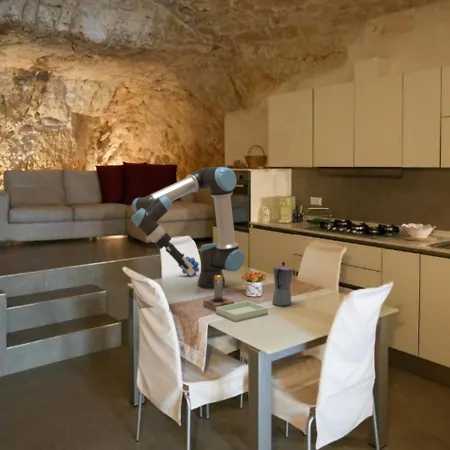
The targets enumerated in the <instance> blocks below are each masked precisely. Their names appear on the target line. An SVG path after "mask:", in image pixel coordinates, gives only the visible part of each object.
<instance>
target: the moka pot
mask: <svg viewBox="0 0 450 450" xmlns="http://www.w3.org/2000/svg"><path fill="white" fill-rule="evenodd" d="M293 273H294V269H293V267H291V266H288V265H287V266H286V262H285V261H283V262H281V265H278V266H273V278H274V292H273V297H272V302H271V303H272V304H273V305H276V306H284V307H285V306H291V305H292V297H291V296H292V295H291V294H292V293H291V285H292V279H293Z"/></svg>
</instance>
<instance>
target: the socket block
mask: <svg viewBox="0 0 450 450" xmlns="http://www.w3.org/2000/svg"><path fill="white" fill-rule="evenodd" d="M230 304H235V303H234V301H233V300H231V299H228V298H225V297H223V302H219V303H216V302H214V297H212V298H209V299H203V307H204V308H206V309H208V310H212V311H214V312H216V307H220V306H225V305H230Z"/></svg>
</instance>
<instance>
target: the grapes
mask: <svg viewBox="0 0 450 450" xmlns="http://www.w3.org/2000/svg"><path fill="white" fill-rule="evenodd" d="M185 258H186V259H187V260H188V261H189V262H190V263H191V264H192V265H193V267H192V269H193V270H194V271H195V273H194V274H193V275H192V276H194V277H195V276H196V275H197V273H198V272H199V271H200V267H199V264H200V263H199V262H198V261H196V259H195V258H194V257H189V256H185ZM179 268H180V269H181V272H182V273H183V274H184V275H186V276H187V277H191V276H190V275H189V274H188V273H187V272H186V271H185V270H184V269H183V267H182V266H180V267H179Z"/></svg>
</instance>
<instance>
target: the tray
mask: <svg viewBox="0 0 450 450" xmlns="http://www.w3.org/2000/svg"><path fill="white" fill-rule="evenodd" d="M268 312H269V307H267V306H264V305H261V304H259V303H256V302H253V301H249V300H244V301H239V302H235V303H234V304H230V305H225V306H220V307H216V311H215V314H216V315H217V316H220V317H223V318H225V319H227V320H230V321H232V322H234V323H237V322H241V321H246V320H249V319H254V318H257V317H263V316H267V315H268V314H269V313H268Z"/></svg>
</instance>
